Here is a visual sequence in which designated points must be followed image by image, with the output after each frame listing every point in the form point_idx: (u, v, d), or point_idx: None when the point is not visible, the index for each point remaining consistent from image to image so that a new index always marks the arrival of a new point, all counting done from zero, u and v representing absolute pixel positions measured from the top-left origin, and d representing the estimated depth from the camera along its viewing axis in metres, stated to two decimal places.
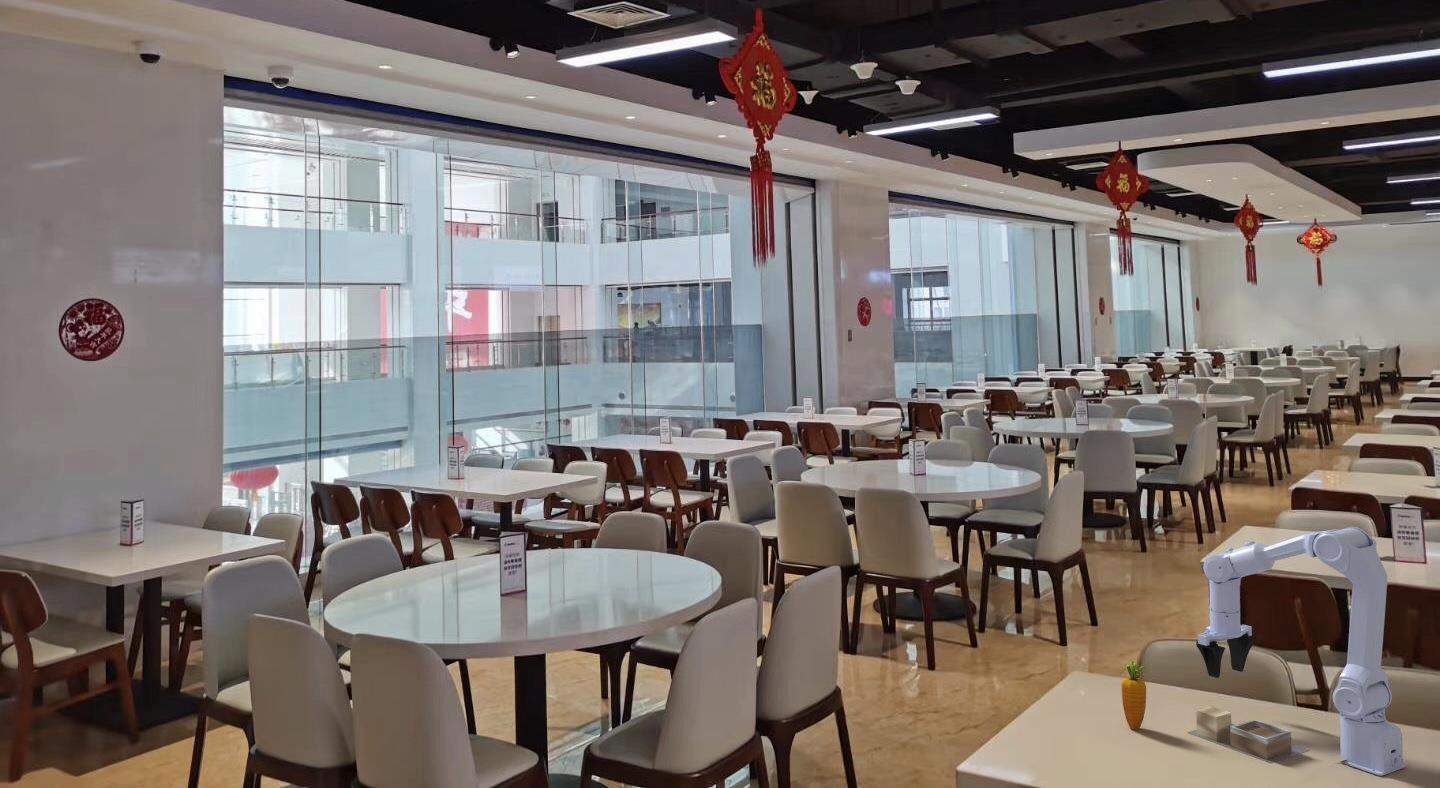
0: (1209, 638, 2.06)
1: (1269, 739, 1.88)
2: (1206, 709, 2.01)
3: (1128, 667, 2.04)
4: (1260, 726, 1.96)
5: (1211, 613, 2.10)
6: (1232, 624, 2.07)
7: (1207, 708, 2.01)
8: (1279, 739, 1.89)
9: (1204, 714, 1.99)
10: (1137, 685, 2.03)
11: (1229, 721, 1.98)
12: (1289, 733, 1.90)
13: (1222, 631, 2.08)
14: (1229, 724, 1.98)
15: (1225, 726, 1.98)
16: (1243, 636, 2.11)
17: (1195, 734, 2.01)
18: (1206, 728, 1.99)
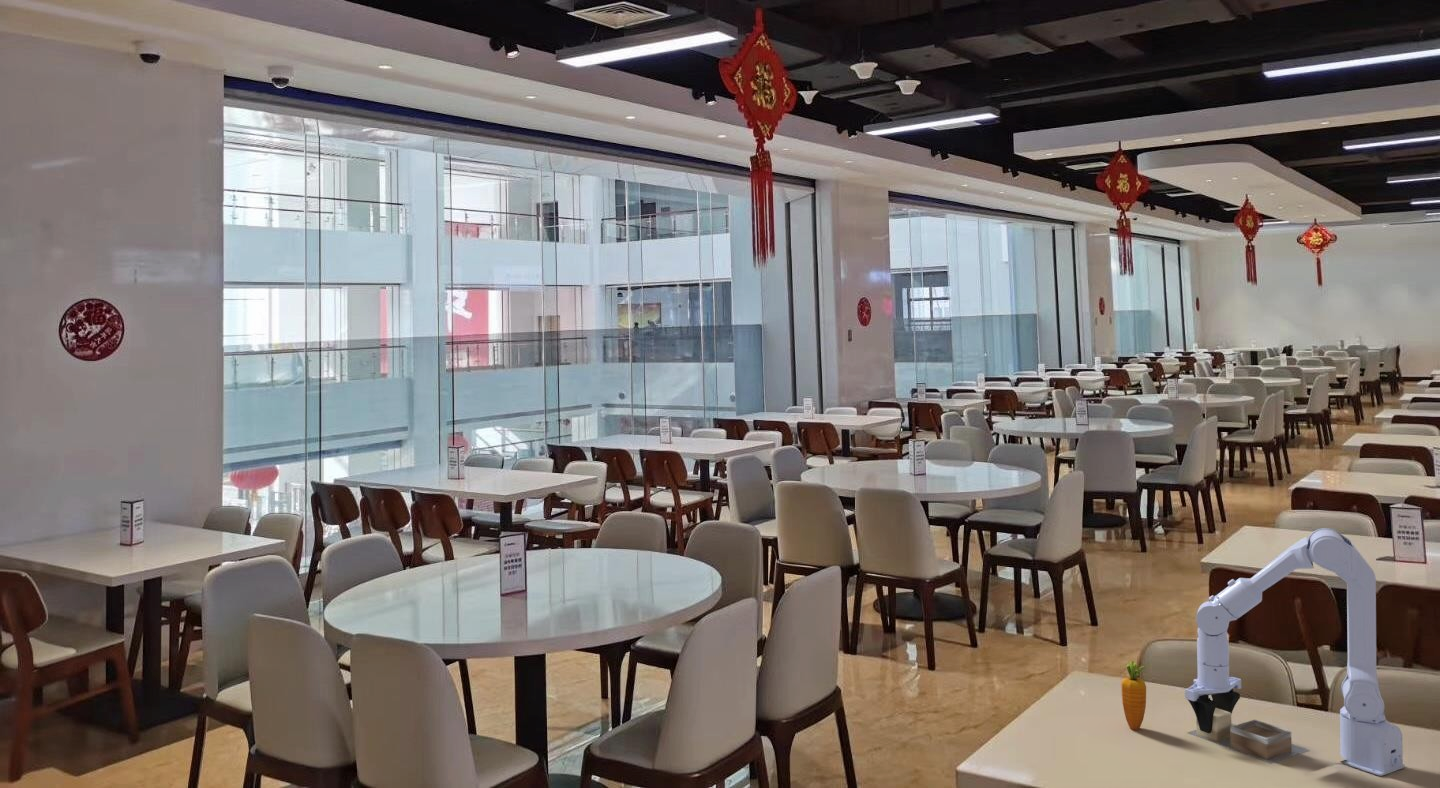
0: (1196, 693, 1.96)
1: (1269, 739, 1.88)
2: None
3: (1128, 667, 2.04)
4: (1260, 726, 1.96)
5: (1199, 666, 1.99)
6: (1221, 678, 1.96)
7: None
8: (1279, 739, 1.89)
9: None
10: (1137, 685, 2.03)
11: (1229, 721, 1.98)
12: (1289, 733, 1.90)
13: (1210, 686, 1.97)
14: (1229, 724, 1.98)
15: (1225, 726, 1.98)
16: (1232, 689, 2.01)
17: (1195, 734, 2.01)
18: None
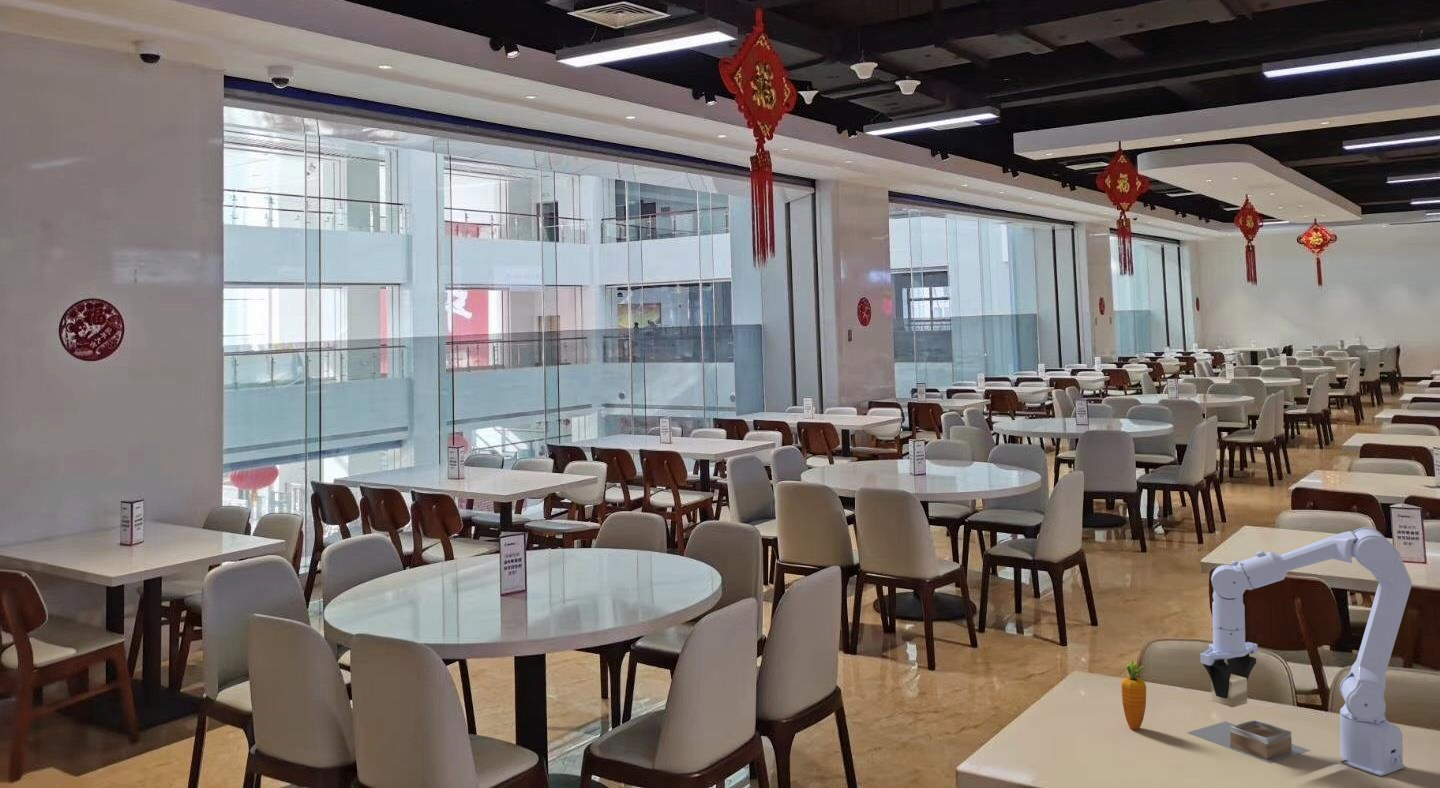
0: (1212, 657, 1.93)
1: (1269, 739, 1.88)
2: None
3: (1128, 667, 2.04)
4: (1260, 726, 1.96)
5: (1214, 630, 1.97)
6: (1237, 642, 1.94)
7: None
8: (1279, 739, 1.89)
9: None
10: (1137, 685, 2.03)
11: (1245, 687, 1.96)
12: (1289, 733, 1.90)
13: (1226, 650, 1.94)
14: (1245, 690, 1.96)
15: (1241, 692, 1.95)
16: (1248, 654, 1.98)
17: (1195, 734, 2.01)
18: None
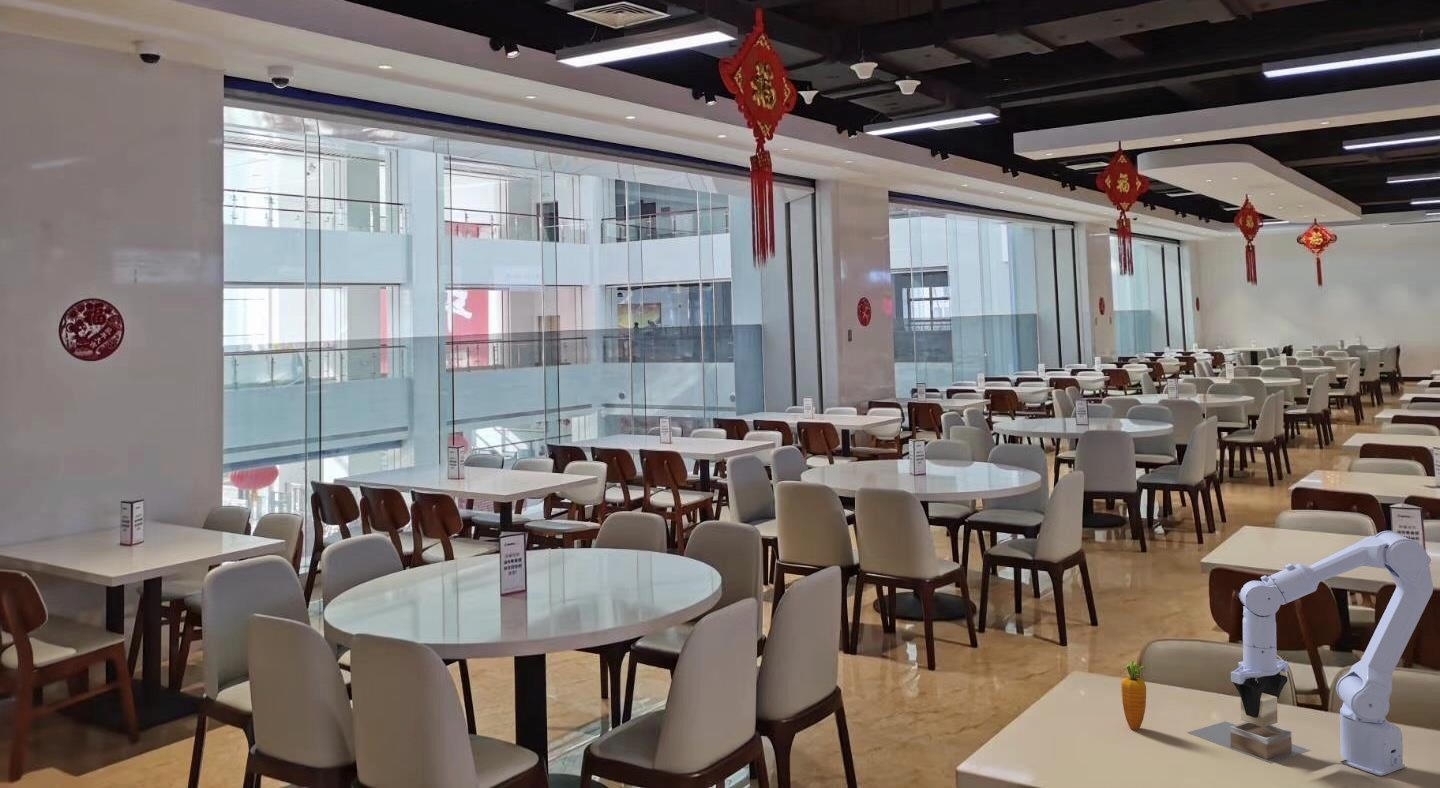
0: (1243, 676, 1.88)
1: (1269, 739, 1.88)
2: None
3: (1128, 667, 2.04)
4: (1260, 726, 1.96)
5: (1245, 648, 1.92)
6: (1268, 660, 1.89)
7: None
8: (1279, 739, 1.89)
9: None
10: (1136, 685, 2.03)
11: (1275, 706, 1.91)
12: (1289, 733, 1.90)
13: (1257, 668, 1.90)
14: (1275, 709, 1.91)
15: (1271, 711, 1.91)
16: (1279, 673, 1.93)
17: (1195, 734, 2.01)
18: None
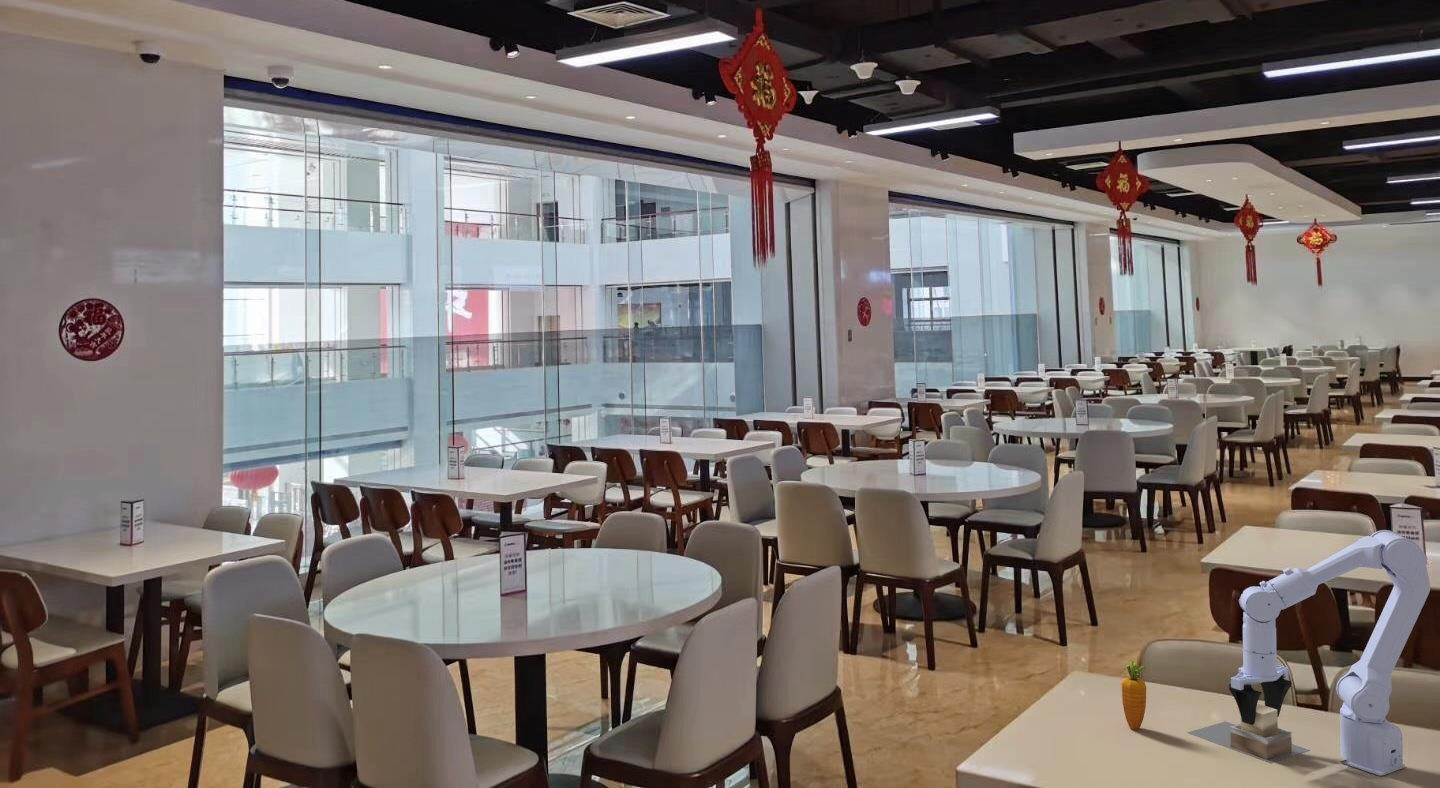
0: (1243, 682, 1.88)
1: (1269, 739, 1.88)
2: None
3: (1128, 667, 2.04)
4: None
5: (1245, 653, 1.92)
6: (1268, 666, 1.89)
7: None
8: (1279, 739, 1.89)
9: None
10: (1137, 685, 2.03)
11: (1275, 718, 1.91)
12: (1289, 733, 1.90)
13: (1257, 674, 1.90)
14: (1275, 721, 1.91)
15: (1271, 723, 1.91)
16: (1279, 678, 1.93)
17: (1195, 734, 2.01)
18: (1251, 725, 1.91)
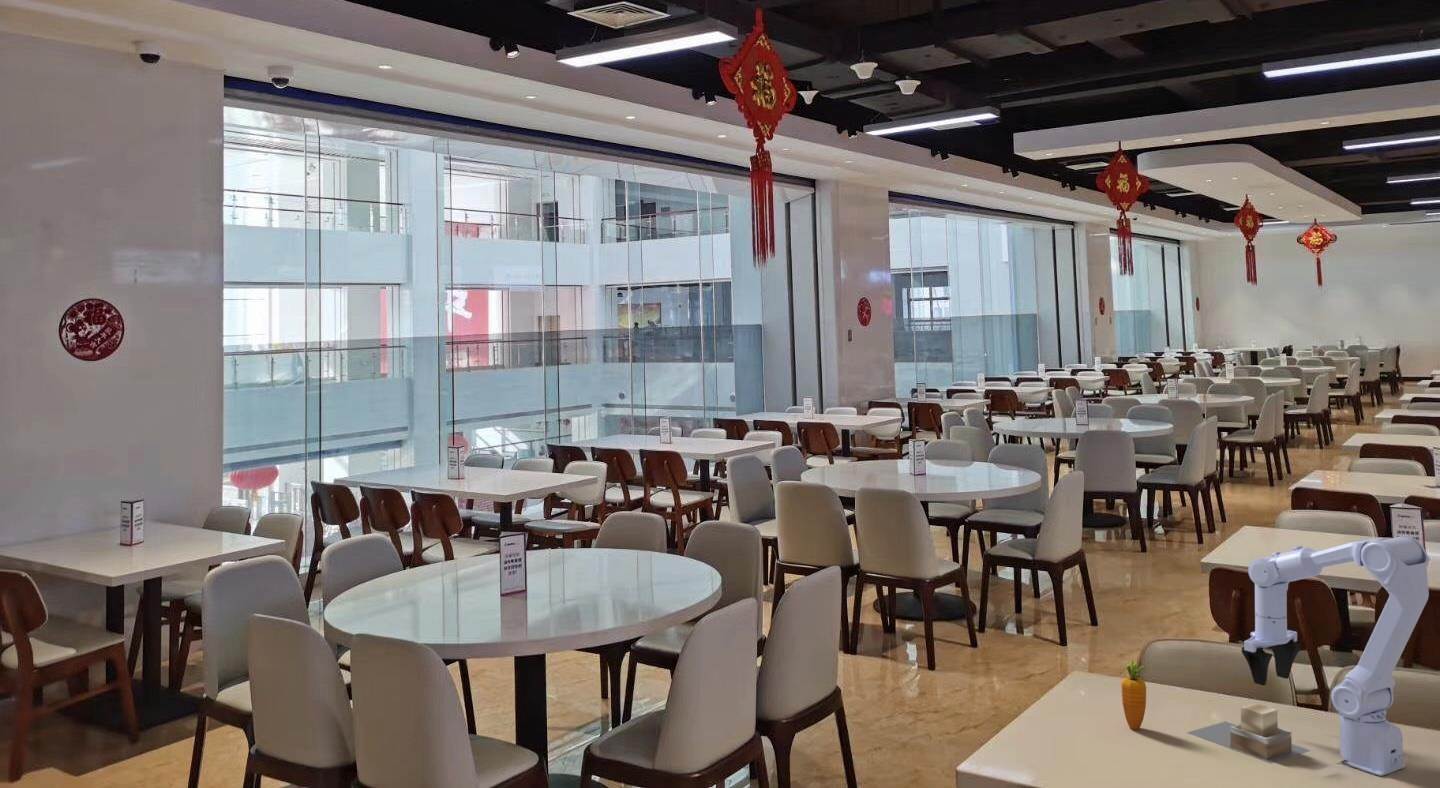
0: (1256, 644, 2.00)
1: (1269, 739, 1.88)
2: (1251, 706, 1.94)
3: (1128, 667, 2.04)
4: None
5: (1257, 618, 2.03)
6: (1279, 630, 2.00)
7: (1252, 705, 1.94)
8: (1279, 739, 1.89)
9: (1249, 711, 1.92)
10: (1137, 685, 2.03)
11: (1275, 718, 1.91)
12: (1289, 733, 1.90)
13: (1268, 637, 2.01)
14: (1275, 721, 1.91)
15: (1271, 723, 1.91)
16: (1289, 642, 2.05)
17: (1195, 734, 2.01)
18: (1251, 725, 1.91)
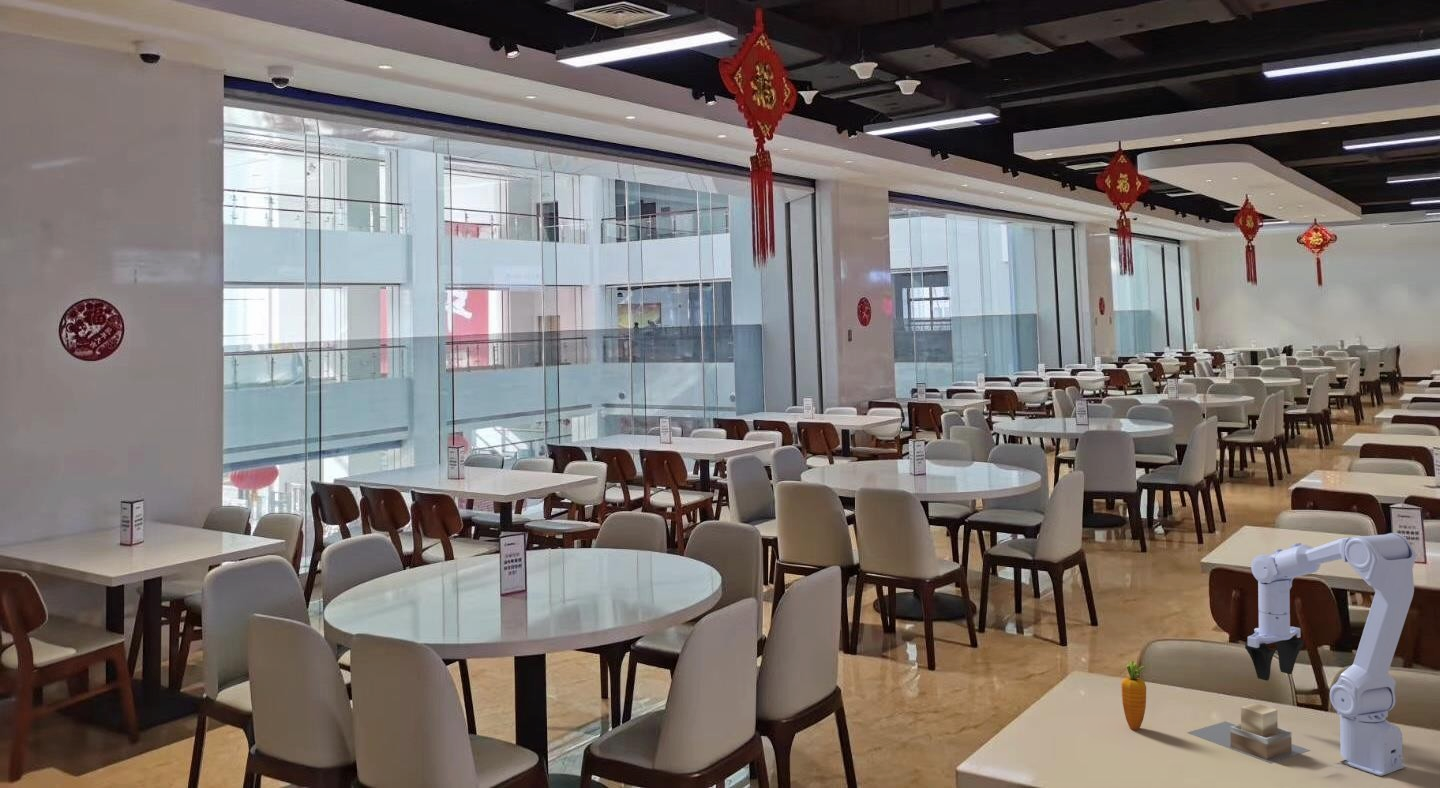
0: (1259, 640, 2.03)
1: (1269, 739, 1.88)
2: (1251, 706, 1.94)
3: (1128, 667, 2.04)
4: None
5: (1260, 615, 2.06)
6: (1282, 626, 2.04)
7: (1252, 705, 1.94)
8: (1279, 739, 1.89)
9: (1249, 711, 1.92)
10: (1137, 685, 2.03)
11: (1275, 718, 1.91)
12: (1289, 733, 1.90)
13: (1271, 633, 2.04)
14: (1275, 721, 1.91)
15: (1271, 723, 1.91)
16: (1292, 638, 2.08)
17: (1195, 734, 2.01)
18: (1251, 725, 1.91)
